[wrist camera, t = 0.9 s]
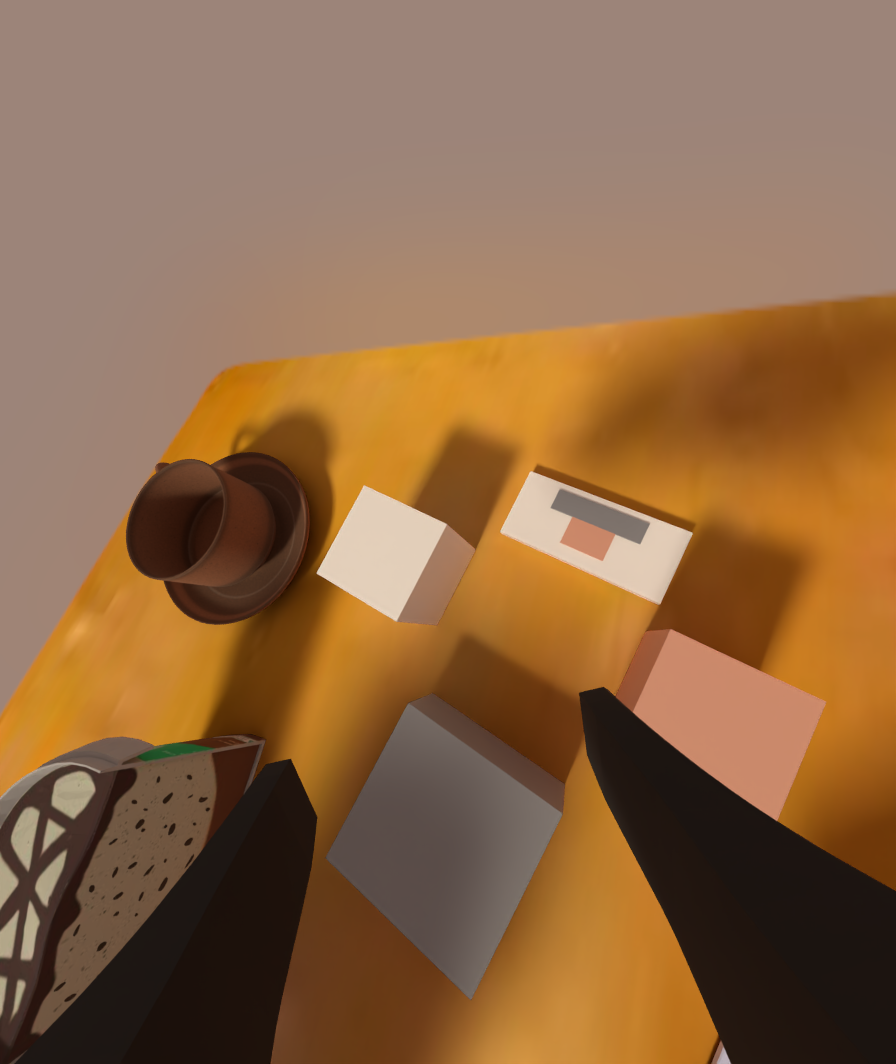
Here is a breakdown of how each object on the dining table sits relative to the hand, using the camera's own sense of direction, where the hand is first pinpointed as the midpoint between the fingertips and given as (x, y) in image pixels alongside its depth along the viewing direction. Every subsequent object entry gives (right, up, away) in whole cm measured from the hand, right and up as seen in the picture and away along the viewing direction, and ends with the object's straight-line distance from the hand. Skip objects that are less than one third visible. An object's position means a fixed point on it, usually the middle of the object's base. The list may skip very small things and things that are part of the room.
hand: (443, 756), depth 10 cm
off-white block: (-1, +3, +15) cm, 16 cm away
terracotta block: (+11, -3, +10) cm, 15 cm away
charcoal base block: (+1, -9, +12) cm, 15 cm away
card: (+8, +5, +13) cm, 16 cm away
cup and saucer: (-14, +5, +20) cm, 25 cm away
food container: (-15, -11, +16) cm, 25 cm away
